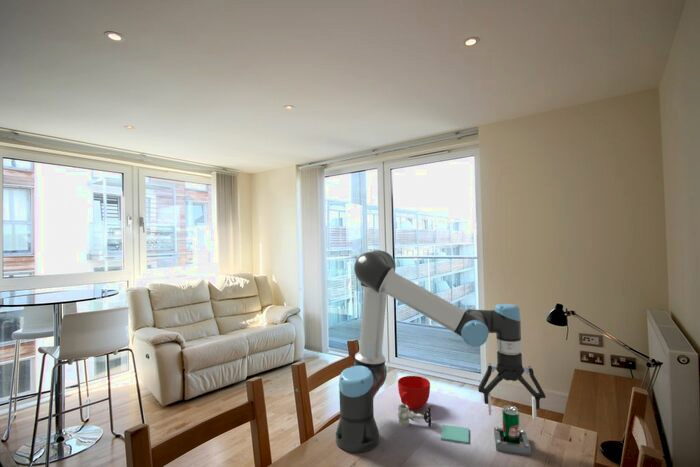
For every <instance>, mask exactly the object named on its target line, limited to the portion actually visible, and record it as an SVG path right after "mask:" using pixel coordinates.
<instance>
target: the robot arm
mask: <svg viewBox="0 0 700 467" xmlns="http://www.w3.org/2000/svg"><path fill="white" fill-rule="evenodd" d="M395 261H396V260H395V259H394V257H393V256H392V254H390V253H389V252H387V251H385V250H381V249H380V250H377V249H376V250H375V249H374V250H371V251H369V252H364V253H362V254H360V255H359V256H358V257H357V258H356V261H355V263H354V270H353V271H354V274H355V277H356V279H357V280H358V281H359V283H360V287H362V289H363V299H362V300H363V301H362V310H361V311H362V314H361V322H360V323H361V326H360V337H359V338H360V339H359V348H358V349H359V351H358V352H357V353H355V354H354V363H353V366H352V365H351V366H350V367H346V368H344V369H343V370H342V371H341V372H340V374H339V378H338V379H339V381H338V394H339V420H338V424H337V428H336V431H335V444H336V443H337V444H336V445H337V447H338V448H339V449H341V448H342V450H343V449H344V450H343V451H345V450H346V451H345V452H349V453H364V452H368V451H371V450H373V449H376V447H377V446H378V444H380V431H379V428H378V425H377V422H376V419H375V415H374V411H375V410H374V409H375V408H374V398H375V396H376V395H377V394H378V392H379V391H380V389H381V387H383V385H384V384H385V382H386V380H387V375H388V370H387V366H386V357H385V356H384V354H383V344H384V343H383V342H384V328H385V319H386V317H385V315H386V306H387V296H390V297H391V298H393V299H395V300H396V301H399V302H400V303H402V304H404V305H406V306H407V307H409V308H411V309H412V310H414V311H417V313H419V314H421V315H423V316H425V317H426V318H428V319H430V320H432V321H433V322H435V323H437V324H438V325H440V326H442V327H444V328H446V329H447V330H449V331H451V332H453V333H455V334H456V335H458V336H460V337H461V338H462V340H463V342H465V344H466V345H468V346H470V347H475V348H476V347H481V346H483V345H484V344H486V342H487V340H488V338H489V334H496V338H495V340H496V349H497V351H496V358H497V361H496V363H497V364H496V365H493V364H492V363H488V364H487V367H486V369H487V370H486V371H485V373H484V375H483V377H482V379H481V381H480V382H479V385H478V392H479V393H482V394H483V401H484V404H486V405H487V412H488V416H492V405H491V404H492V401H491V400H492V399H491V397H492V396H491V391H493V389H495V387H497V385H499V383H501V382H502V381H503V380H505V381H512V382H516V381H519V382H520V383H521V385H522V386H524V387H525V388H526V390H527V391H528V392H529V393H530V394H531V395H532V396H531V407H532V409H531V410H532V411H531V412H532V413H531V414H532V418H533V420H534V421H537V420H538V419H537V417H538V416H537V410H540V408H541V407H540V401H541V399H547V398H546V397H547V396H546V393H545V392H544V390H543V389H542V387H541V385H540V383H539V382H538V380H537V377H536V376H535V373H534V369H533V367H532V366H531V365H530V366H527V367H523V355H522V332H521V331H522V327H521V326H522V322H521V313H520V307H518V305H516V304H513V303H498V304H495V306H494V309H471V308H467V309H463V308H460V307H458V306H457V305H456V304H453V303H451V302H449V301H448V300H446V299H444V298H442V297H440V296H438V295H437V294H435V293H433V292H431V291H430V290H427V289H426V288H424V287H422V286H420V285H418V284H416V283H414V282H412V281H411V280H409V279H407V278H406V277H404V276H402V275H400V274H398V273H396V267H397V265H396V262H395ZM495 370H496V371H497V372H498V373H497V374H496V375H495V377H494V378H493V379H492V380H491V381H490V382H489V383H488V381H489V379H490V377H491V375H492V373H494V372H495ZM524 373H526V375H529V378H530V379H531V380H532V383H533V385H534V386H535V387H536V389H537V391H536V390H535V389H534V388H533V387H532V385H531V384H530V383H528V381H527V380H526V379H525V378H524V377H523V374H524ZM487 383H488V384H487Z"/></svg>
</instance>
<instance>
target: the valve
mask: <svg viewBox="0 0 700 467" xmlns="http://www.w3.org/2000/svg"><path fill="white" fill-rule="evenodd" d="M397 408H398V412H397V416H398V417H397V418H398V424H399V426H401V427H407V426H409V425H410V421H414V419H418V420H421V419H423V420H424V421H425V423H427V424H428V425H427V426H428V427H429V428H431V427H432V409H431V408H432V407H429V406H428V407H427V410H425V411H424V413H423V414H421V413H414V410H411V411H409V410H410V409H409V407H408V406H407V405H405V404H403V403H401V404H399V405H398V406H397Z"/></svg>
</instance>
